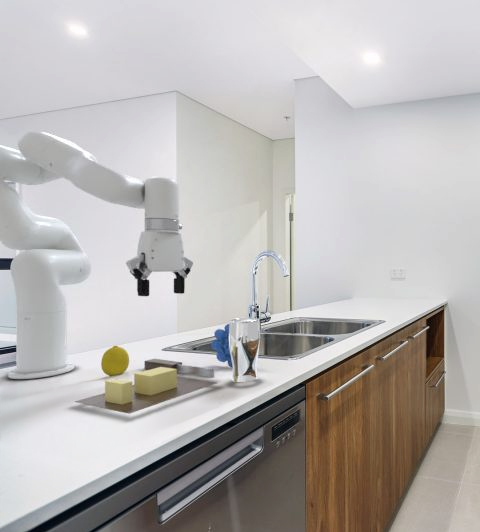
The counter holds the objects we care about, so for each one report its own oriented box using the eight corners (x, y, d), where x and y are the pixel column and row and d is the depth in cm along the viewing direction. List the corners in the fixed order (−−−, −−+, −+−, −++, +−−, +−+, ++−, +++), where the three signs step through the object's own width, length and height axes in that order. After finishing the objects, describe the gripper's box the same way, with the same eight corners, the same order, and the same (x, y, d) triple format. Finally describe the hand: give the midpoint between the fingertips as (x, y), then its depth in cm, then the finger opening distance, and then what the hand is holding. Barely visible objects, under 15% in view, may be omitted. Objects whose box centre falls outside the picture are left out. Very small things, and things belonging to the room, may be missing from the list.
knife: (144, 373, 101) (144, 360, 101) (154, 370, 104) (154, 358, 104) (208, 383, 93) (208, 369, 93) (218, 380, 96) (218, 367, 96)
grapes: (208, 373, 101) (208, 326, 101) (212, 367, 108) (212, 323, 107) (257, 370, 105) (257, 324, 105) (257, 364, 111) (257, 321, 111)
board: (74, 407, 77) (74, 401, 77) (168, 379, 96) (168, 374, 96) (129, 420, 71) (129, 413, 71) (218, 387, 90) (218, 382, 90)
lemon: (114, 382, 94) (114, 348, 94) (95, 380, 95) (95, 347, 95) (134, 375, 99) (134, 343, 99) (116, 374, 100) (116, 342, 100)
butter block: (134, 392, 83) (134, 373, 83) (160, 384, 88) (160, 366, 88) (150, 395, 81) (150, 376, 81) (177, 387, 86) (177, 368, 86)
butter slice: (104, 401, 77) (104, 381, 77) (115, 398, 79) (115, 378, 79) (122, 405, 75) (122, 384, 75) (132, 401, 77) (132, 381, 77)
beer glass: (223, 383, 93) (223, 319, 93) (251, 377, 98) (251, 316, 98) (236, 389, 88) (237, 322, 88) (265, 383, 94) (265, 319, 93)
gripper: (181, 230, 110) (181, 292, 110) (117, 224, 94) (117, 296, 94) (201, 229, 107) (201, 292, 107) (138, 223, 91) (138, 297, 91)
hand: (162, 294), depth 101 cm, fingers open, 9 cm apart
